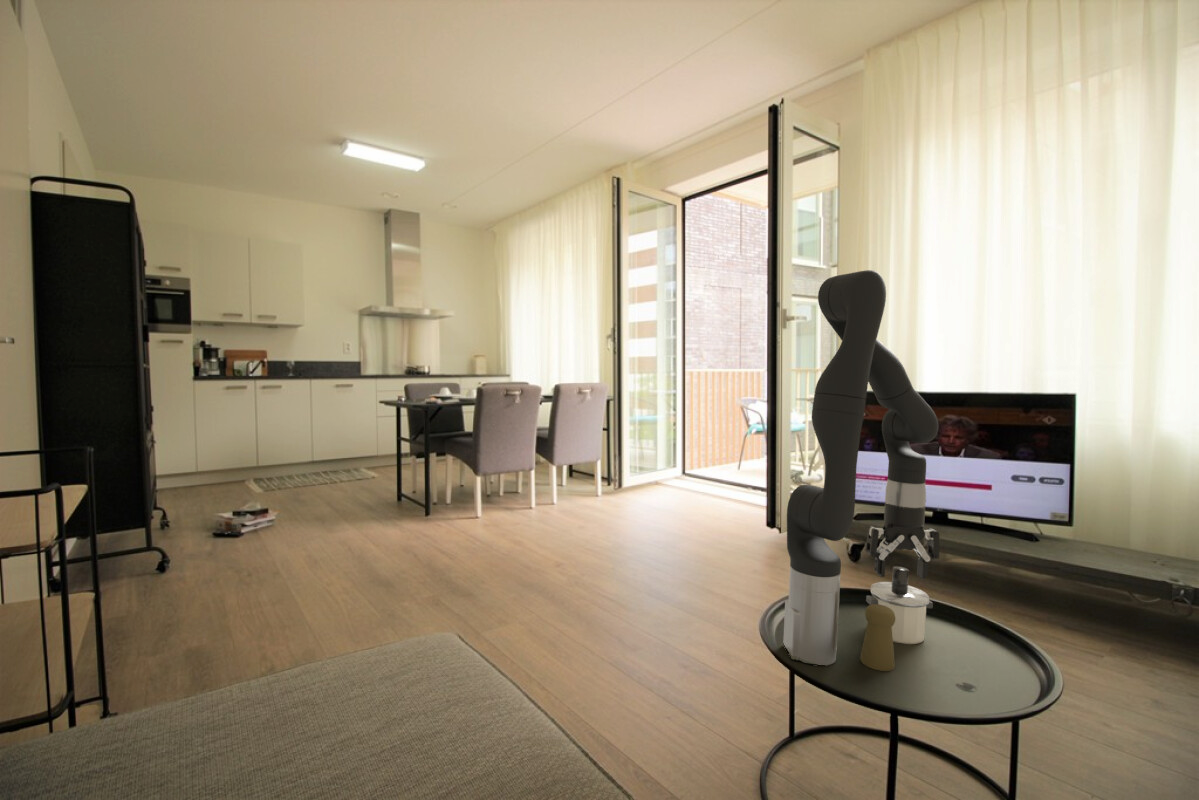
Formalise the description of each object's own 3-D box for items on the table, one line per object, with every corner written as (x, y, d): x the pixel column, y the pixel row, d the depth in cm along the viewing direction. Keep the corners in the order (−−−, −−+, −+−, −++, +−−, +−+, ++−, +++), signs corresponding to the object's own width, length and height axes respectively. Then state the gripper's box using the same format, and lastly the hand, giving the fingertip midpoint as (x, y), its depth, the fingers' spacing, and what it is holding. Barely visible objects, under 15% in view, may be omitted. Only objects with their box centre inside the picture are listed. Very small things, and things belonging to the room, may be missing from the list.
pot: (877, 642, 115) (879, 605, 114) (857, 620, 125) (859, 586, 124) (940, 645, 114) (943, 607, 114) (915, 623, 124) (917, 588, 124)
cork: (853, 658, 108) (856, 603, 108) (874, 652, 111) (877, 598, 110) (880, 673, 103) (883, 616, 102) (902, 667, 105) (905, 610, 105)
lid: (884, 606, 114) (886, 577, 113) (862, 585, 125) (863, 559, 124) (939, 608, 113) (941, 579, 113) (912, 587, 124) (913, 561, 124)
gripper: (929, 498, 121) (925, 571, 122) (863, 496, 122) (859, 568, 123) (949, 507, 114) (944, 584, 115) (878, 504, 114) (874, 581, 115)
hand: (900, 576), depth 119 cm, fingers open, 8 cm apart
